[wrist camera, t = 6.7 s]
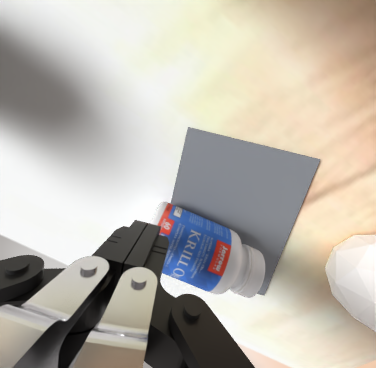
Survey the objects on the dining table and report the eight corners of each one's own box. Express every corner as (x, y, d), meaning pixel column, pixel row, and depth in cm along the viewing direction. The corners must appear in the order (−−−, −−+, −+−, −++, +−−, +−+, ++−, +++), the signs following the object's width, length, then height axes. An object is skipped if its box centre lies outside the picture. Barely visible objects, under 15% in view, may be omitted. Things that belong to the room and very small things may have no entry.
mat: (188, 127, 16) (188, 127, 16) (317, 159, 16) (320, 159, 16) (156, 266, 20) (155, 269, 19) (262, 292, 20) (264, 295, 19)
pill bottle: (153, 209, 12) (282, 261, 13) (164, 194, 17) (254, 231, 18) (126, 278, 13) (249, 324, 13) (144, 243, 18) (232, 277, 19)
